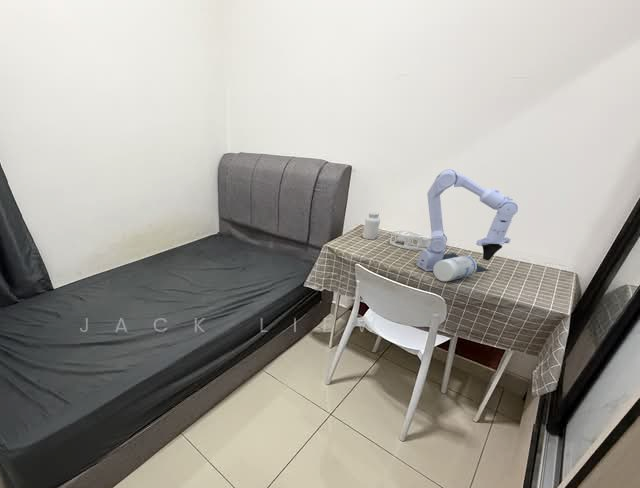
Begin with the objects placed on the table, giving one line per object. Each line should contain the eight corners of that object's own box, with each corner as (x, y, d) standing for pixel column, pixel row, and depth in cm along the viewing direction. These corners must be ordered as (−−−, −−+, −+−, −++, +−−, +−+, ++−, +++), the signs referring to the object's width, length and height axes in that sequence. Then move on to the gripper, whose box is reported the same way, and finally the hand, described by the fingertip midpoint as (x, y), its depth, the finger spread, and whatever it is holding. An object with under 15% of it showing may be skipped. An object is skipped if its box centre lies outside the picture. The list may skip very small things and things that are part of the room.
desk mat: (457, 273, 138) (457, 273, 138) (426, 256, 156) (426, 256, 156) (487, 270, 141) (487, 269, 141) (453, 253, 158) (453, 253, 158)
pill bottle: (363, 239, 179) (368, 214, 172) (361, 234, 186) (365, 210, 179) (377, 240, 178) (383, 215, 171) (374, 235, 185) (379, 211, 177)
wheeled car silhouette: (432, 248, 165) (436, 235, 161) (424, 254, 158) (428, 240, 155) (396, 239, 178) (399, 227, 175) (387, 244, 172) (390, 231, 168)
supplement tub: (473, 279, 133) (449, 286, 129) (453, 270, 141) (430, 276, 137) (481, 259, 128) (456, 265, 124) (460, 251, 136) (436, 257, 132)
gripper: (492, 234, 120) (479, 264, 127) (522, 231, 122) (508, 261, 129) (476, 228, 126) (465, 258, 133) (506, 226, 129) (493, 255, 135)
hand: (486, 259), depth 131 cm, fingers closed
